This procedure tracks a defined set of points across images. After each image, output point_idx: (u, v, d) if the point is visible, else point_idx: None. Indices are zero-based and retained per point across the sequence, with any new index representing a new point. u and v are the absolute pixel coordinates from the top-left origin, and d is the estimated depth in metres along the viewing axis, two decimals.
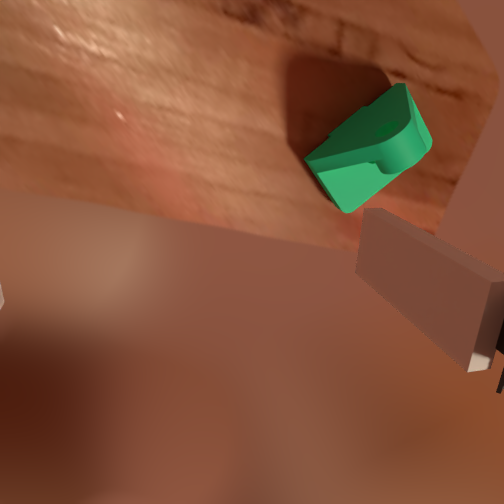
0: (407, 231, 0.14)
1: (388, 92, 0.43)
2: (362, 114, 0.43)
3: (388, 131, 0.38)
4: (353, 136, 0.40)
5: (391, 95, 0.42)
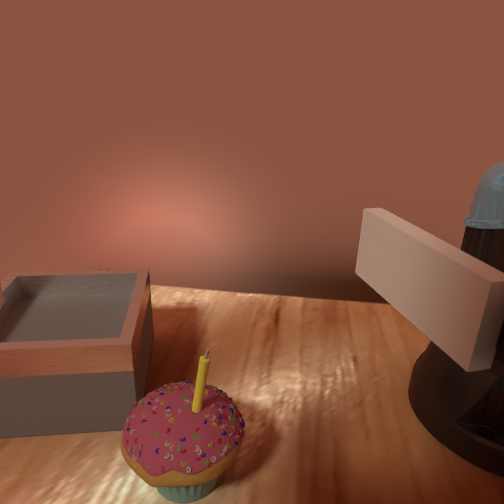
0: (407, 231, 0.14)
1: None
2: None
3: None
4: None
5: None
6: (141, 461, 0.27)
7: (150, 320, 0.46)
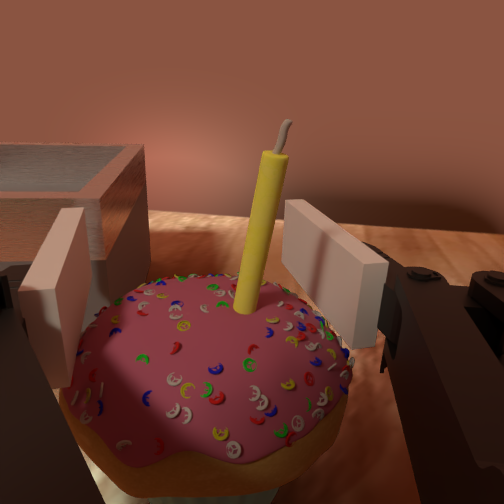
0: (314, 220, 0.15)
1: None
2: None
3: None
4: None
5: None
6: (103, 427, 0.10)
7: (145, 227, 0.29)
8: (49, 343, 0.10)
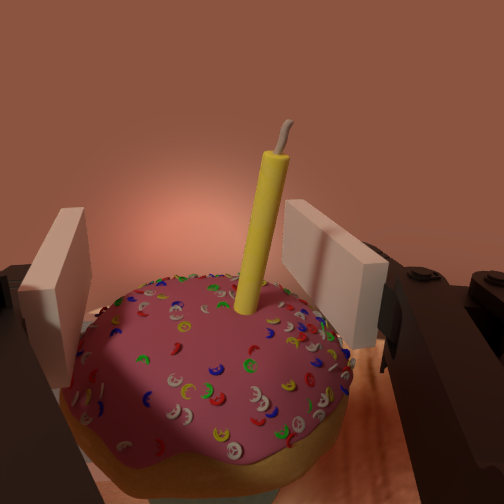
0: (314, 220, 0.15)
1: None
2: None
3: None
4: None
5: None
6: (103, 428, 0.10)
7: None
8: (49, 343, 0.10)
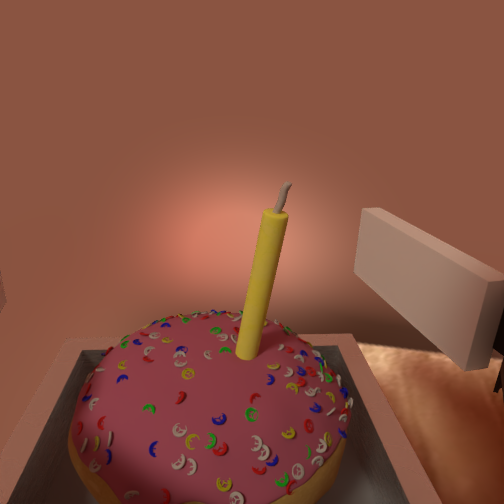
0: (405, 231, 0.14)
1: None
2: None
3: None
4: None
5: None
6: (112, 476, 0.10)
7: None
8: None
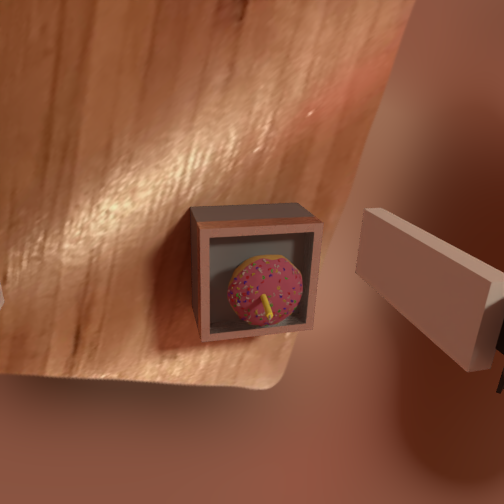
0: (407, 231, 0.14)
1: None
2: None
3: None
4: None
5: None
6: (290, 265, 0.46)
7: (195, 307, 0.54)
8: None
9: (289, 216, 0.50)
